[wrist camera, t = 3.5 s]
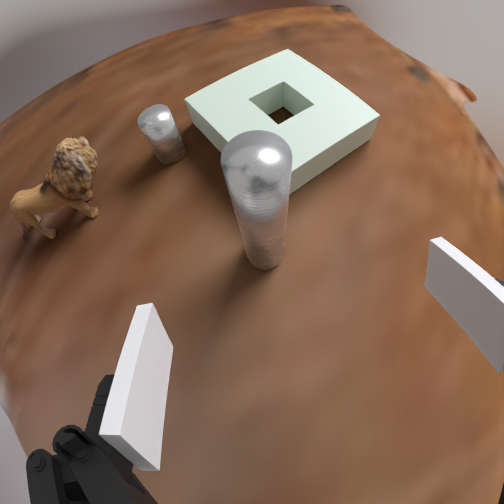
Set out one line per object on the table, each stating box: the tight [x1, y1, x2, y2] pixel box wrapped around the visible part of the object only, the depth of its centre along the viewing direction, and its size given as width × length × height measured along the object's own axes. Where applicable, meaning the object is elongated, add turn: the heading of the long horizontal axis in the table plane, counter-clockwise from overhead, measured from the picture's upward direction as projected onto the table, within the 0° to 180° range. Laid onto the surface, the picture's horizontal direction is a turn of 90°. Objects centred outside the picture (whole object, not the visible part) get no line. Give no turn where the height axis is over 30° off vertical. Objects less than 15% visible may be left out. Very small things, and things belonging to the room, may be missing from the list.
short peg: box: [138, 104, 185, 165], centre depth 27 cm, size 3×3×6 cm
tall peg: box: [221, 130, 292, 270], centre depth 20 cm, size 3×3×14 cm
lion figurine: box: [9, 137, 98, 242], centre depth 25 cm, size 15×5×9 cm, turn 116°
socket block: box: [185, 49, 380, 195], centre depth 28 cm, size 14×14×4 cm
